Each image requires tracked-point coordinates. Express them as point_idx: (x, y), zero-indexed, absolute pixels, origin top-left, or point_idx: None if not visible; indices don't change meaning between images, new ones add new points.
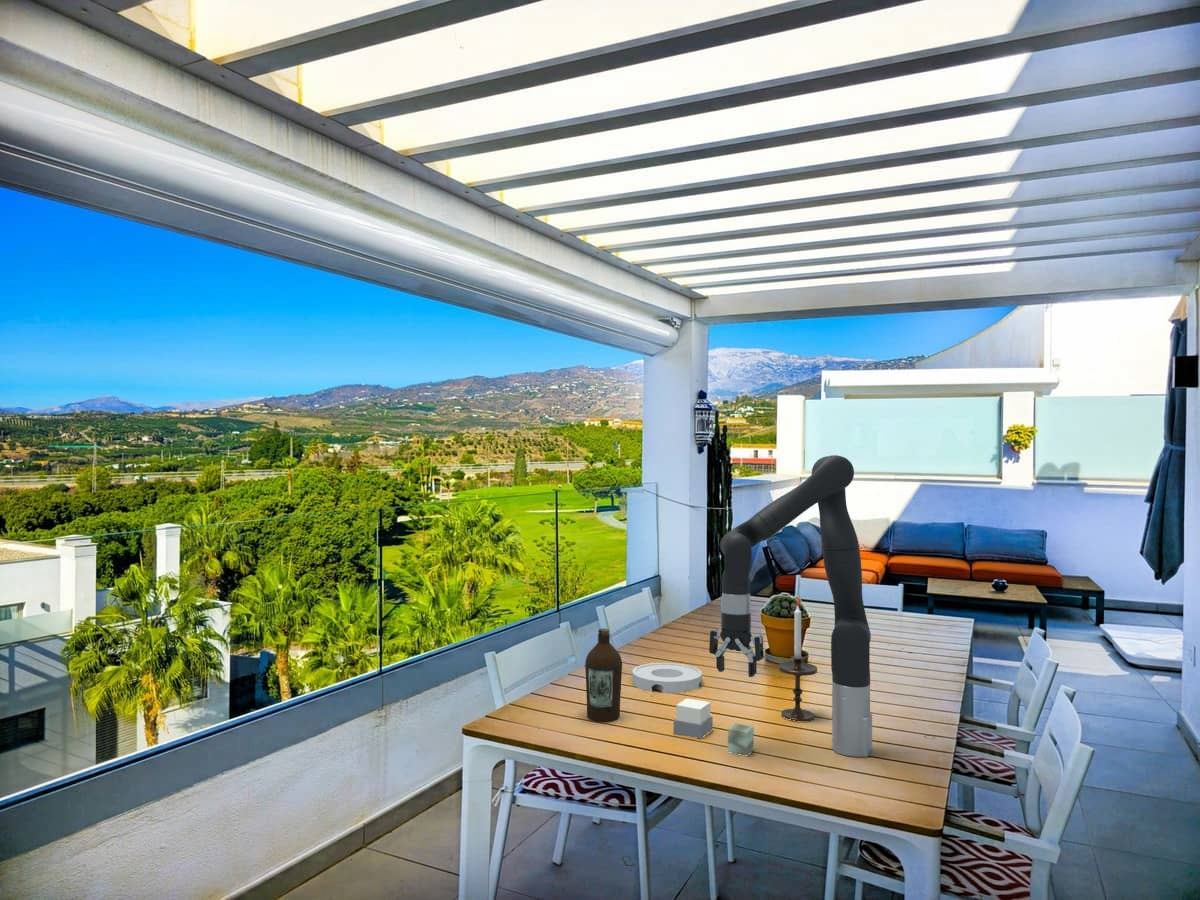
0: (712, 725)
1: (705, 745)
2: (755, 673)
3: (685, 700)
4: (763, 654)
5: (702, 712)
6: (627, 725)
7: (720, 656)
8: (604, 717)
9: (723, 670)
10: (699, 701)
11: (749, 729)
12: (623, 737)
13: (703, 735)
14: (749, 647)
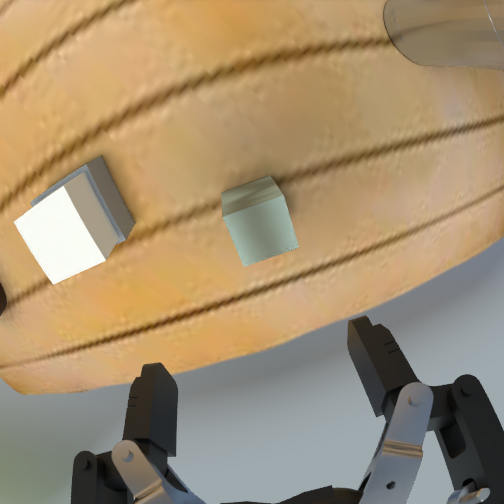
0: (96, 158)
1: (172, 242)
2: (382, 332)
3: (27, 238)
4: (485, 398)
5: (101, 238)
6: (21, 285)
7: (166, 460)
8: (3, 308)
9: (163, 368)
10: (45, 210)
11: (289, 223)
12: (70, 325)
13: (127, 212)
14: (397, 487)
